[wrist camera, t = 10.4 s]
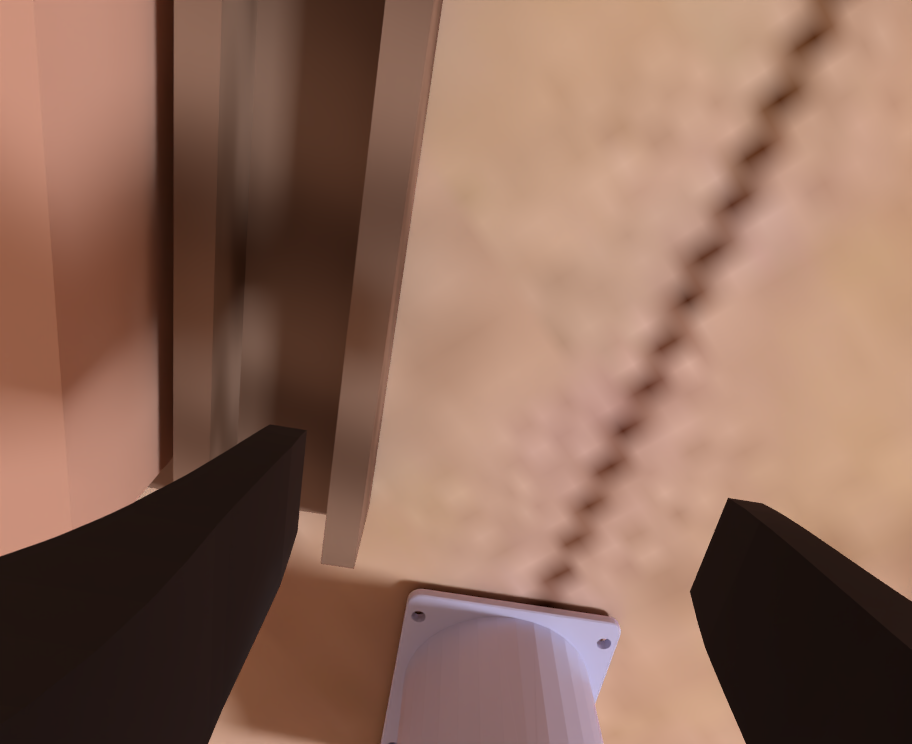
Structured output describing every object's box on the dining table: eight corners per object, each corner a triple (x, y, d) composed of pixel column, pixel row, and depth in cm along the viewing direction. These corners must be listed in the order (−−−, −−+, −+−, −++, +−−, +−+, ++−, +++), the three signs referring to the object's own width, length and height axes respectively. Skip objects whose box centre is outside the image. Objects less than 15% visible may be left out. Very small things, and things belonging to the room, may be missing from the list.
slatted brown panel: (368, 506, 22) (353, 568, 19) (-50, 442, 21) (-134, 495, 18) (474, -221, 14) (477, -310, 11) (-174, -364, 13) (-355, -500, 10)
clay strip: (183, 444, 20) (74, 571, 14) (120, 434, 20) (-14, 558, 14) (189, -175, 14) (6, -369, 8) (98, -194, 14) (-149, -403, 8)
